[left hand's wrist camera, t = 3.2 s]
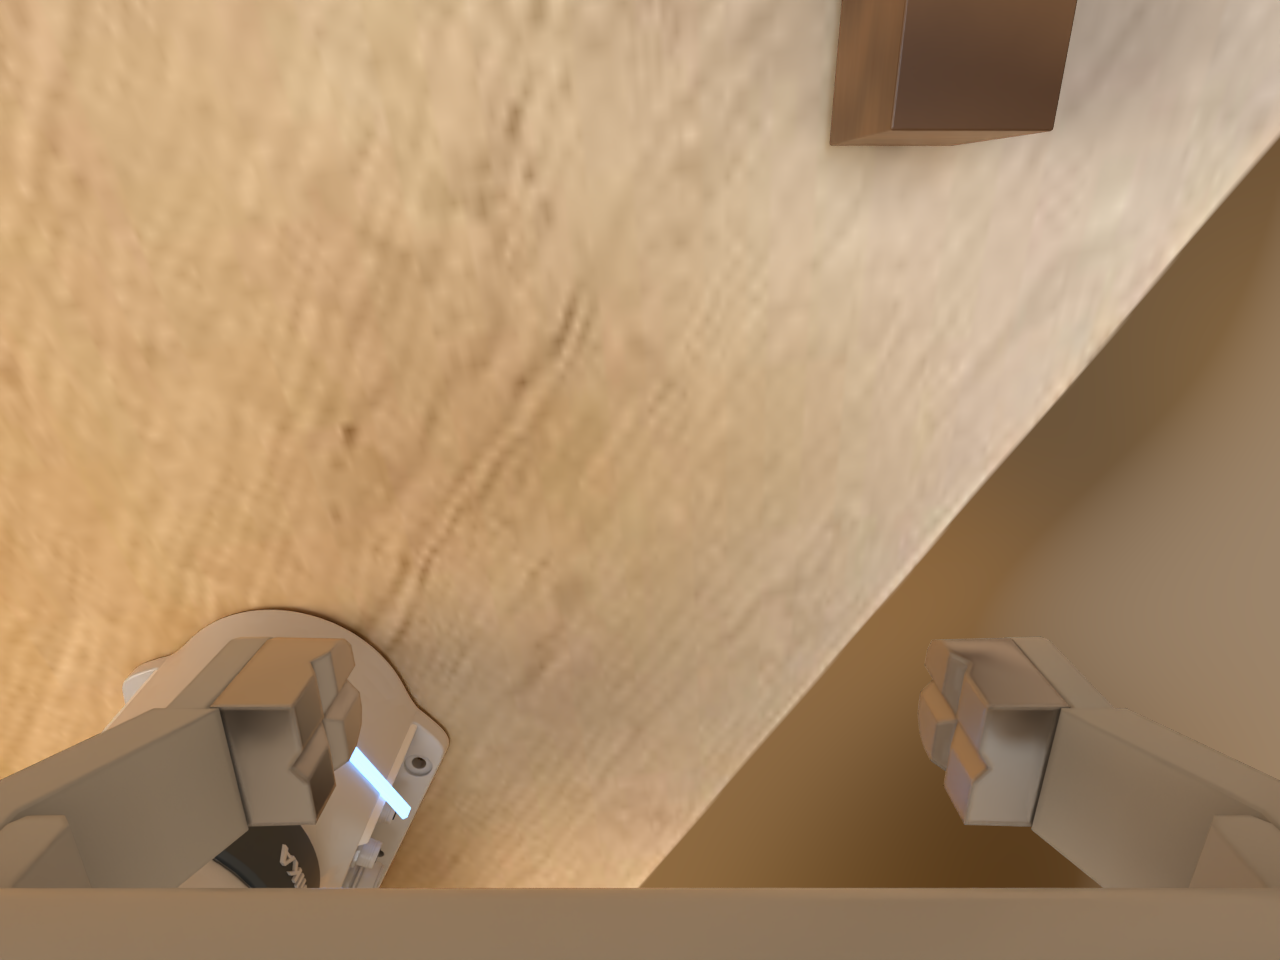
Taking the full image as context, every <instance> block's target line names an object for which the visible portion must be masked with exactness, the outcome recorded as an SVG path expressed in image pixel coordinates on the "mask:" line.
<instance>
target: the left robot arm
mask: <svg viewBox="0 0 1280 960" xmlns="http://www.w3.org/2000/svg"><path fill="white" fill-rule="evenodd" d="M925 667H926V668H927V670H928V672H929V673H930V675H931V677H932V678H933V680H932V681H931V682H930V683H929V684H928V685H927V686H926V687H925V688H924V689H923V690H922V691H921V692H920V698H919V706H918V721H919V732H920V736H921V739H922V743H923V746H924V748H925V750H926V752H927V754H928V756H929V758H930V760H931V761H932V762H933V763H935V764H936V765H937V766H939V767H940V768H942V769H943V770H945V771H946V775H945V781H944V787H945V789H946V791H947V793H948V795H949V796H950V798H951V800H952V802H953V804H954V806H955V808H956V810H957V811H958V813H959V815H960V817H961V819H962V821H963V823H964V824H965V825H994V826H1030V827H1032V831H1034V832H1035V833H1036V834H1037V835H1039V836H1040V837H1041V838H1042V839H1044V840H1045V841H1046V842H1047V843H1048V844H1050V845H1051V846H1052V847H1053V848H1055V849H1056V850H1057V851H1058V852H1060V853H1061V854H1062V855H1063V856H1065V857H1066V858H1067V859H1068V860H1069V861H1071V862H1072V863H1073V864H1074V865H1076V866H1077V867H1078V868H1079V869H1081V870H1082V871H1083V872H1084V873H1085V874H1087V875H1088V876H1089V877H1090V878H1092V879H1093V880H1094V881H1095V882H1097V883H1098V884H1099V885H1100V886H1101V887H1103V888H379V887H380V885H381V883H382V881H383V879H384V877H385V875H386V873H387V871H388V869H389V867H390V865H391V863H392V861H393V859H394V857H395V855H396V853H397V851H398V849H399V847H400V845H401V843H402V841H403V839H404V837H405V835H406V833H407V831H408V829H409V827H410V825H411V823H412V821H413V819H414V816H415V814H416V812H417V810H418V808H419V806H420V804H421V802H422V800H423V798H424V796H425V794H426V792H427V790H428V788H429V786H430V784H431V782H432V780H433V778H434V776H435V774H436V772H437V770H438V768H439V766H440V764H441V762H442V760H443V758H444V755H445V753H446V751H447V749H448V746H449V739H448V736H447V734H446V733H445V731H444V730H443V729H442V728H441V727H440V726H439V725H438V724H437V723H436V722H435V721H433V720H432V719H431V718H430V717H429V716H427V715H426V714H425V713H424V712H422V711H421V710H420V709H419V708H417V706H416V705H415V704H414V702H413V701H412V699H411V698H410V696H409V694H408V693H407V691H406V689H405V687H404V685H403V683H402V681H401V680H400V678H399V677H398V675H397V673H396V672H395V671H394V669H393V668H392V667H391V665H390V664H389V663H388V662H387V661H386V660H385V658H384V657H383V656H382V655H381V654H380V653H379V652H378V651H376V650H375V649H374V648H373V647H372V646H371V645H369V644H368V643H367V642H366V641H364V640H363V639H361V638H360V637H358V636H357V635H355V634H354V633H352V632H350V631H349V630H347V629H345V628H343V627H341V626H339V625H337V624H335V623H332V622H330V621H327V620H325V619H322V618H319V617H316V616H312V615H308V614H304V613H299V612H294V611H287V610H254V611H247V612H241V613H237V614H233V615H230V616H227V617H224V618H222V619H219V620H217V621H215V622H213V623H211V624H210V625H208V626H206V627H205V628H203V629H202V630H200V631H199V632H198V633H196V634H195V635H194V636H193V637H192V638H191V639H190V640H189V641H188V642H187V643H186V644H185V645H184V646H183V647H181V648H180V649H179V650H178V651H176V652H175V653H173V654H172V655H169V656H165V657H162V658H158V659H155V660H152V661H149V662H146V663H144V664H142V665H140V666H138V667H136V668H135V669H134V670H133V671H132V672H131V674H130V675H129V676H128V677H127V678H126V680H125V681H124V683H123V686H122V690H123V696H124V700H125V705H124V707H123V708H122V709H121V710H120V711H119V712H118V714H117V715H116V716H115V717H114V718H113V719H112V721H111V722H110V723H109V724H108V725H107V726H106V727H105V729H104V730H103V731H102V732H101V733H100V734H98V735H95V736H93V737H91V738H89V739H87V740H85V741H83V742H80V743H78V744H76V745H74V746H72V747H70V748H68V749H66V750H63V751H61V752H59V753H57V754H55V755H53V756H51V757H49V758H46V759H44V760H42V761H40V762H38V763H36V764H34V765H31V766H29V767H27V768H25V769H23V770H21V771H19V772H17V773H14V774H12V775H10V776H8V777H6V778H4V779H2V780H0V960H1280V780H1278V779H1276V778H1274V777H1272V776H1269V775H1267V774H1265V773H1263V772H1261V771H1259V770H1257V769H1255V768H1252V767H1250V766H1248V765H1246V764H1244V763H1242V762H1240V761H1238V760H1235V759H1233V758H1231V757H1229V756H1227V755H1225V754H1223V753H1221V752H1218V751H1216V750H1214V749H1212V748H1210V747H1208V746H1206V745H1204V744H1201V743H1199V742H1197V741H1195V740H1193V739H1191V738H1189V737H1187V736H1184V735H1182V734H1180V733H1178V732H1176V731H1174V730H1172V729H1169V728H1167V727H1165V726H1163V725H1161V724H1159V723H1157V722H1155V721H1153V720H1150V719H1148V718H1146V717H1144V716H1142V715H1140V714H1138V713H1136V712H1133V711H1131V710H1129V709H1127V708H1114V707H1113V706H1112V705H1111V704H1110V703H1109V702H1108V701H1107V700H1106V699H1105V698H1104V697H1103V696H1102V695H1101V693H1100V692H1099V691H1098V690H1097V689H1096V688H1095V687H1094V686H1093V685H1092V684H1091V683H1090V682H1089V681H1088V680H1087V679H1086V678H1085V677H1084V676H1083V675H1082V674H1081V673H1080V671H1079V670H1078V669H1077V668H1076V667H1075V666H1074V665H1073V664H1072V663H1071V662H1070V661H1069V660H1068V659H1067V658H1066V657H1065V656H1064V655H1063V654H1062V653H1061V651H1060V650H1059V649H1058V648H1057V647H1056V646H1055V645H1054V644H1053V643H1052V642H1051V641H1050V640H1048V639H1045V638H1043V637H1041V636H1038V637H1011V638H986V639H945V640H932V641H931V643H930V645H929V647H928V649H927V654H926V660H925ZM417 757H419V758H422V759H424V760H419V759H418V758H417Z"/></svg>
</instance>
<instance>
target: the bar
mask: <svg viewBox="0 0 1280 960" xmlns="http://www.w3.org/2000/svg"><path fill="white" fill-rule="evenodd" d="M1076 4H1077V0H842V7H841V19H840V30H839V42H838V53H837V65H836V76H835V88H834V99H833V111H832V122H831V133H830V145H831V146H954V145H960V144H967V143H974V142H981V141H987V140H994V139H1001V138H1008V137H1014V136H1021V135H1028V134H1034V133H1041V132H1048V131H1052V130H1053V126H1054V121H1055V116H1056V110H1057V105H1058V100H1059V94H1060V89H1061V84H1062V78H1063V73H1064V68H1065V63H1066V57H1067V52H1068V47H1069V41H1070V36H1071V31H1072V25H1073V20H1074V15H1075V9H1076Z"/></svg>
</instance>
